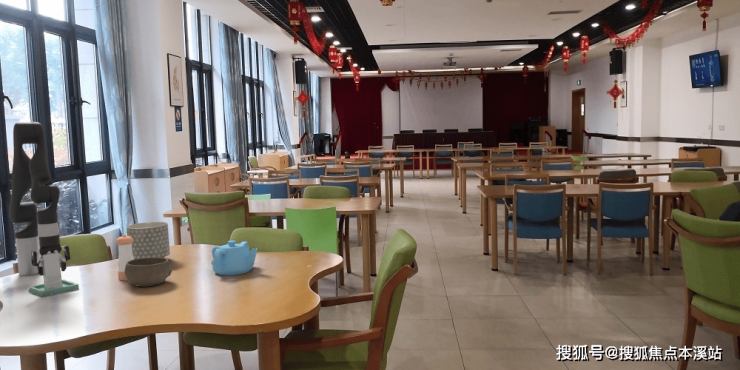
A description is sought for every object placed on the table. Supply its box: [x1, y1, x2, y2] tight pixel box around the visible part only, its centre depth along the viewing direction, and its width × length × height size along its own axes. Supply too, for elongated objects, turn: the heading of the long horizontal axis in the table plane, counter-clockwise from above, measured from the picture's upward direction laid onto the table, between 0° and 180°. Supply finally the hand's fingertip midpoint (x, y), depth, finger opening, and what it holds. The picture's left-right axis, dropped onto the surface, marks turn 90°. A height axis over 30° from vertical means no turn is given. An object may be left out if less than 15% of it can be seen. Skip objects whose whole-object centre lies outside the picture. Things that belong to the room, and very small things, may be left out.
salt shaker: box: [115, 234, 134, 281], centre depth 265 cm, size 7×7×19 cm
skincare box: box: [42, 253, 63, 290], centre depth 249 cm, size 8×6×15 cm
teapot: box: [210, 240, 258, 276], centre depth 272 cm, size 19×19×14 cm
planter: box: [125, 221, 171, 259], centre depth 297 cm, size 19×19×18 cm
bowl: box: [125, 257, 172, 288], centre depth 254 cm, size 17×18×10 cm
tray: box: [28, 279, 80, 298], centre depth 250 cm, size 14×14×2 cm
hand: (52, 273), depth 249 cm, fingers open, 8 cm apart
